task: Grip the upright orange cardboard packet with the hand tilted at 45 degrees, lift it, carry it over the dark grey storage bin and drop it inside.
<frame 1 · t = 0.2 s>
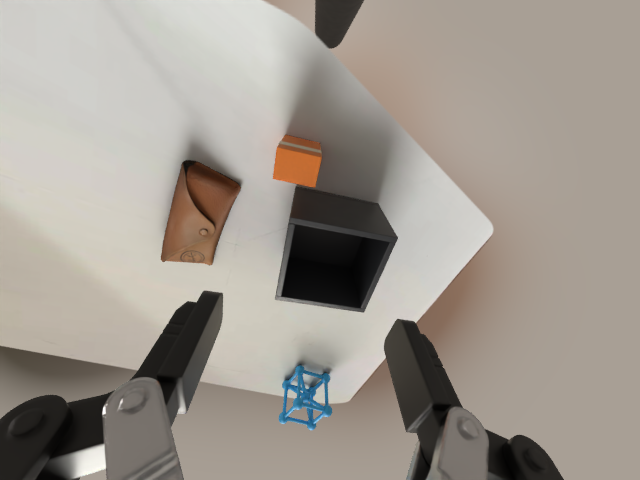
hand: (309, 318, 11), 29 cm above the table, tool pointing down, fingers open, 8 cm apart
dark grey storage bin: (327, 231, 42), on the table
sunglasses case: (202, 217, 40), on the table
molecular structure: (306, 376, 65), on the table
packet: (300, 151, 35), on the table
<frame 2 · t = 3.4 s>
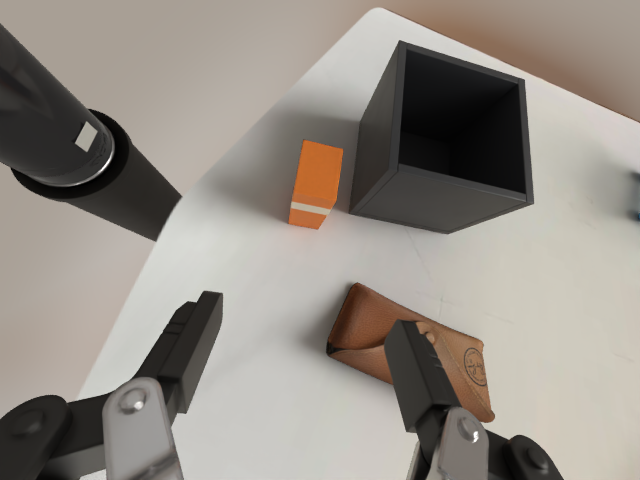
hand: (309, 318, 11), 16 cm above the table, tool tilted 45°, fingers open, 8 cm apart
dark grey storage bin: (403, 176, 32), on the table
sunglasses case: (407, 345, 28), on the table
packet: (306, 207, 29), on the table
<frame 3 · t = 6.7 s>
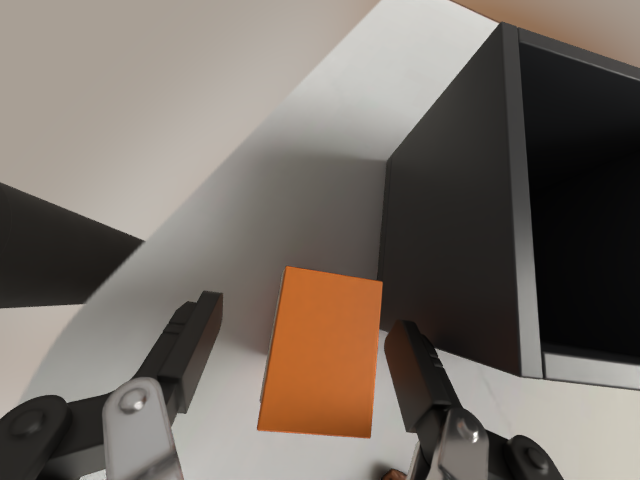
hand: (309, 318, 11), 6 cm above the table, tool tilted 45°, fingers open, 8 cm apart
dark grey storage bin: (458, 251, 20), on the table
packet: (300, 320, 17), on the table
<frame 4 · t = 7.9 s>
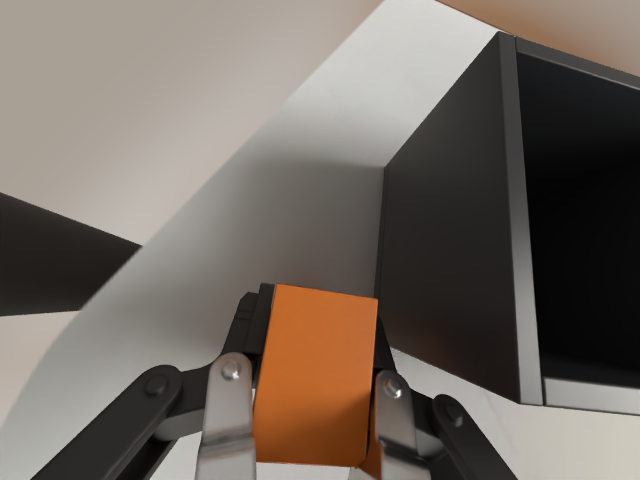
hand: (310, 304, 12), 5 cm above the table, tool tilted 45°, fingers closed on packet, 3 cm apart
dark grey storage bin: (456, 259, 20), on the table
packet: (295, 331, 16), on the table, touching gripper
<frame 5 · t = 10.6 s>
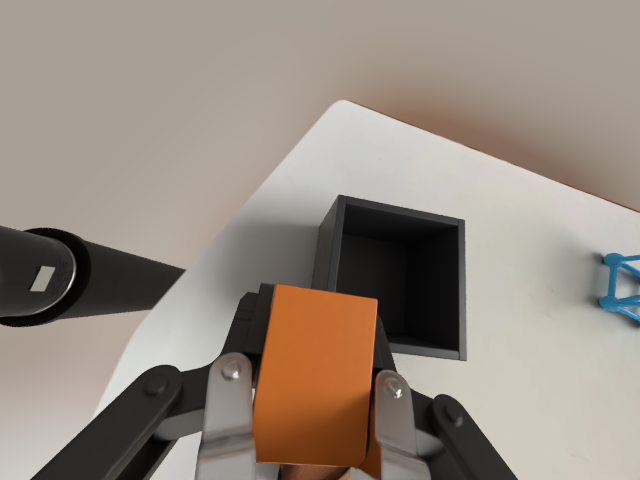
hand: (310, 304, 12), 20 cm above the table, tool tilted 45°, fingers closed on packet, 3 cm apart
dark grey storage bin: (361, 281, 33), on the table
sunglasses case: (360, 464, 28), on the table
molecular structure: (620, 291, 40), on the table
packet: (295, 331, 16), point 15 cm above the table, touching gripper
when the fingers open (16 cm above the table, at t = 14.1 s): packet drops 9 cm, resting on dark grey storage bin.
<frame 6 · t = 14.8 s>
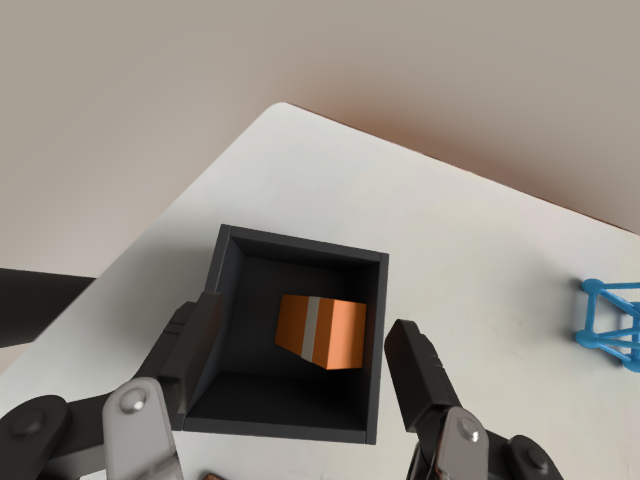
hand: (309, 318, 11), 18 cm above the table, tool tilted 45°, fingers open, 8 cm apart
dark grey storage bin: (288, 317, 28), on the table
molecular structure: (601, 322, 35), on the table
packet: (293, 319, 26), point 2 cm above the table, tilted 26°, touching dark grey storage bin
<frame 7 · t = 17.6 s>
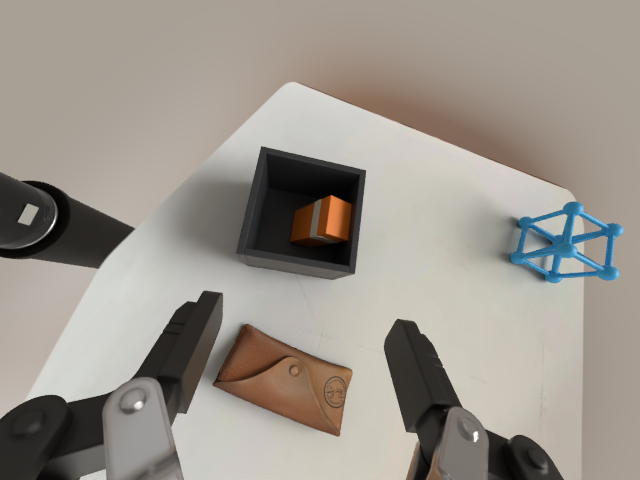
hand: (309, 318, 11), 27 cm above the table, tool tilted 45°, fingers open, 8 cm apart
dark grey storage bin: (298, 231, 40), on the table
sunglasses case: (287, 374, 35), on the table
molecular structure: (532, 250, 47), on the table
packet: (302, 229, 38), point 2 cm above the table, tilted 26°, touching dark grey storage bin
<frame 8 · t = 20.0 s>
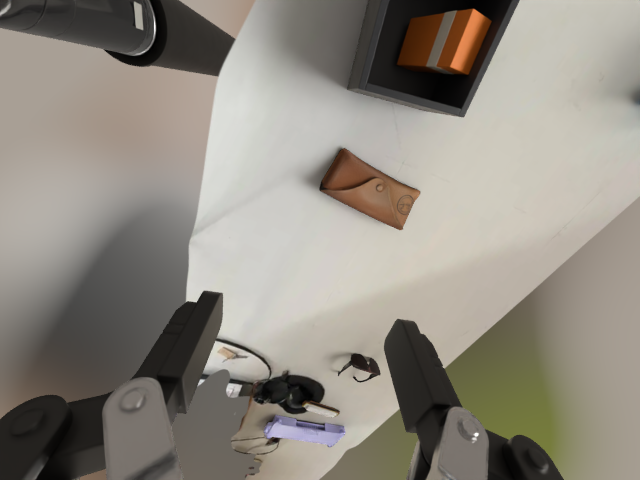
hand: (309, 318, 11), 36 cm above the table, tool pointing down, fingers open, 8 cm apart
dark grey storage bin: (405, 47, 35), on the table
sunglasses: (356, 364, 75), on the table
sunglasses case: (370, 188, 46), on the table
harmonica: (321, 405, 88), on the table
computer part: (304, 426, 96), on the table
packet: (412, 46, 33), point 2 cm above the table, tilted 26°, touching dark grey storage bin
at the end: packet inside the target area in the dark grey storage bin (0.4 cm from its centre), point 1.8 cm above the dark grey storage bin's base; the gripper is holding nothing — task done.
